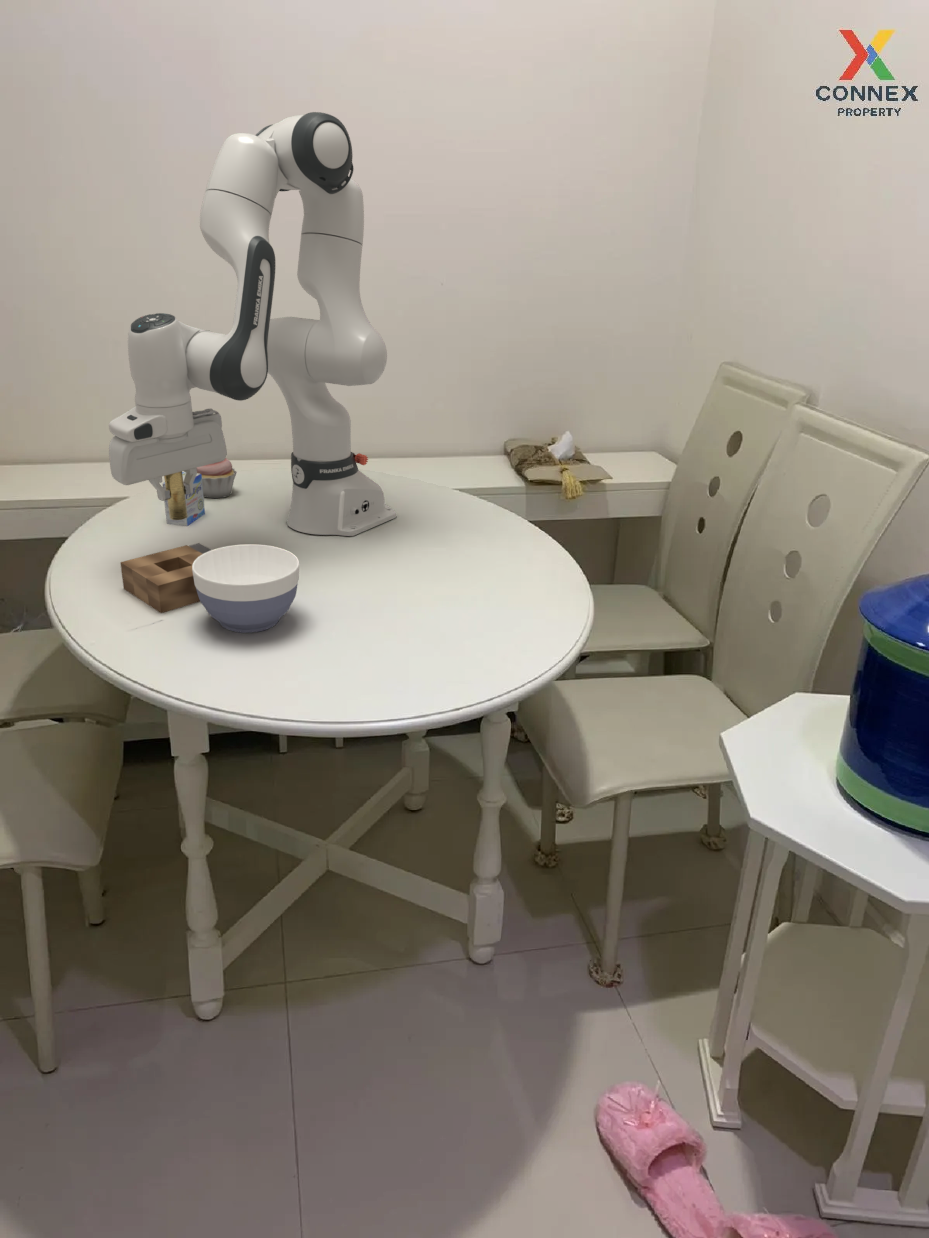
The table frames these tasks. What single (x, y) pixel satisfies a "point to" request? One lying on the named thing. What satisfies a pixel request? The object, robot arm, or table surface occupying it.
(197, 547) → the rubber mat
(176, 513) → the brass peg
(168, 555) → the hole block
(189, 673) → the table surface
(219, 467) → the cupcake
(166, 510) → the medicine box
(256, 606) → the bowl
